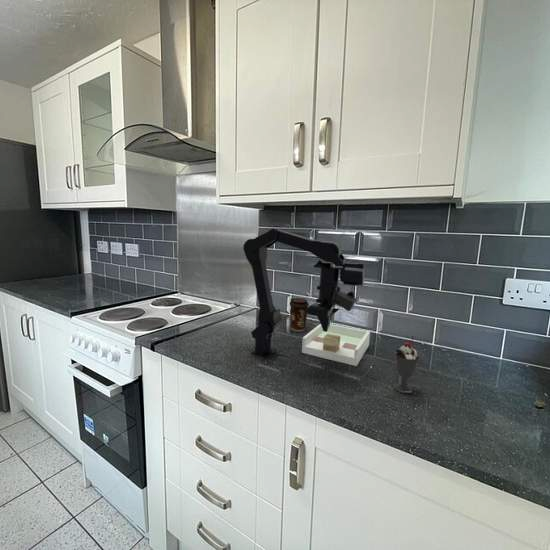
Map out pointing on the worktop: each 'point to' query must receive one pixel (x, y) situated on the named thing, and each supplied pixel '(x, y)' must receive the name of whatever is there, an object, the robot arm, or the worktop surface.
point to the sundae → (406, 363)
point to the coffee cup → (298, 313)
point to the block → (331, 343)
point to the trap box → (350, 344)
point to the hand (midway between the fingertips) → (325, 331)
